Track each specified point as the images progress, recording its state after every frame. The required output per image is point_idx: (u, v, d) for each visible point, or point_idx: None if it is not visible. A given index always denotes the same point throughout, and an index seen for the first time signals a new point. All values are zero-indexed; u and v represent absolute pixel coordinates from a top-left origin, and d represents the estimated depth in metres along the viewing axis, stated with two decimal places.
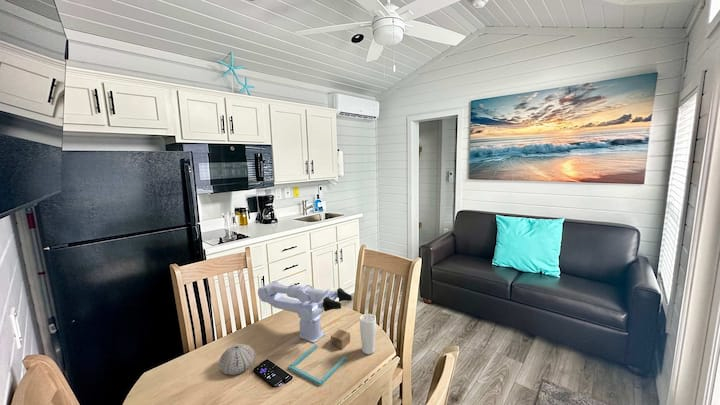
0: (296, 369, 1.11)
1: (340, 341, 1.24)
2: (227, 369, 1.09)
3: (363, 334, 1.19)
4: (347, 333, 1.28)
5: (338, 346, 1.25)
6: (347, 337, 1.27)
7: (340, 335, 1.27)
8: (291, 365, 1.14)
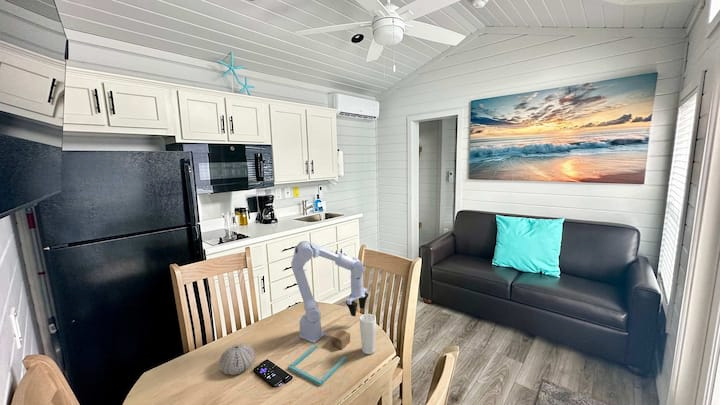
0: (296, 369, 1.11)
1: (340, 341, 1.24)
2: (227, 369, 1.09)
3: (363, 334, 1.19)
4: (347, 333, 1.28)
5: (338, 346, 1.25)
6: (347, 337, 1.27)
7: (340, 335, 1.27)
8: (291, 365, 1.14)
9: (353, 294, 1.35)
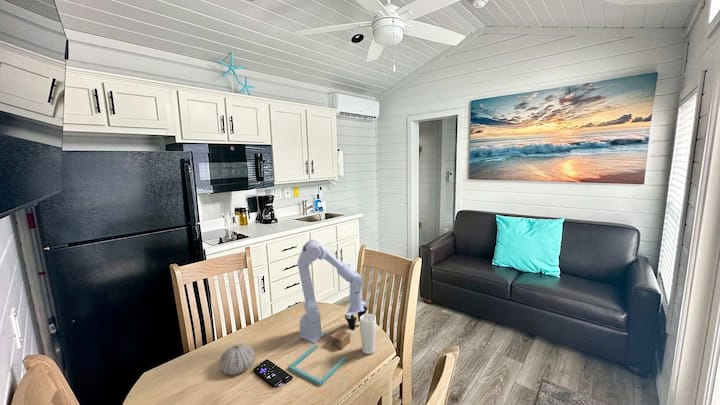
0: (296, 369, 1.11)
1: (340, 341, 1.24)
2: (227, 369, 1.09)
3: (363, 334, 1.19)
4: (347, 333, 1.28)
5: (338, 346, 1.25)
6: (347, 337, 1.27)
7: (340, 335, 1.27)
8: (291, 365, 1.14)
9: (352, 308, 1.35)
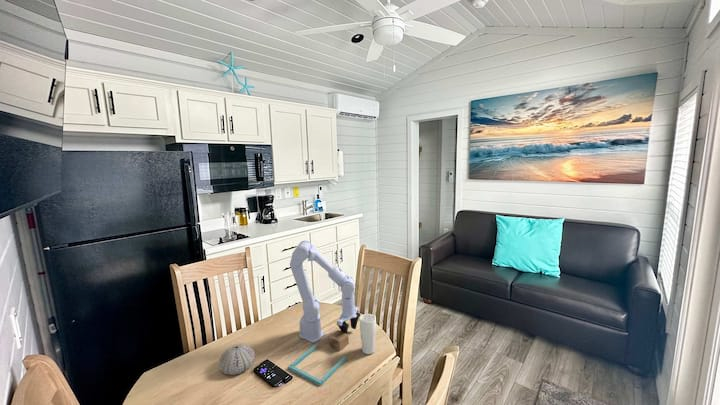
0: (296, 369, 1.11)
1: (338, 342, 1.23)
2: (227, 369, 1.09)
3: (363, 334, 1.19)
4: (345, 334, 1.27)
5: (336, 347, 1.24)
6: (345, 338, 1.26)
7: (338, 336, 1.26)
8: (291, 365, 1.14)
9: (344, 314, 1.30)
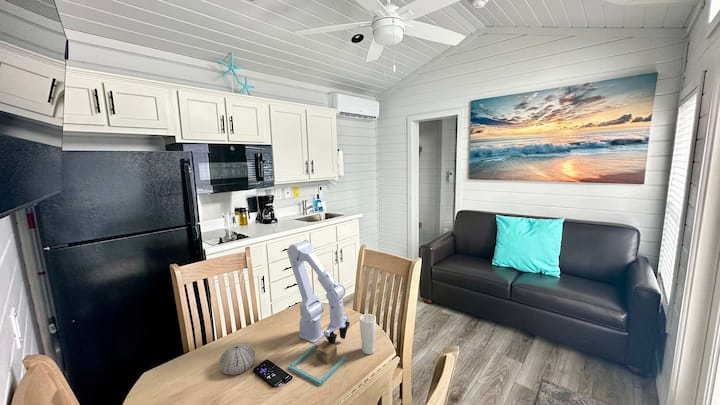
0: (296, 369, 1.11)
1: (325, 354, 1.16)
2: (227, 369, 1.09)
3: (363, 334, 1.19)
4: (333, 345, 1.20)
5: (323, 360, 1.17)
6: (333, 350, 1.19)
7: (326, 347, 1.19)
8: (291, 365, 1.14)
9: (332, 324, 1.23)
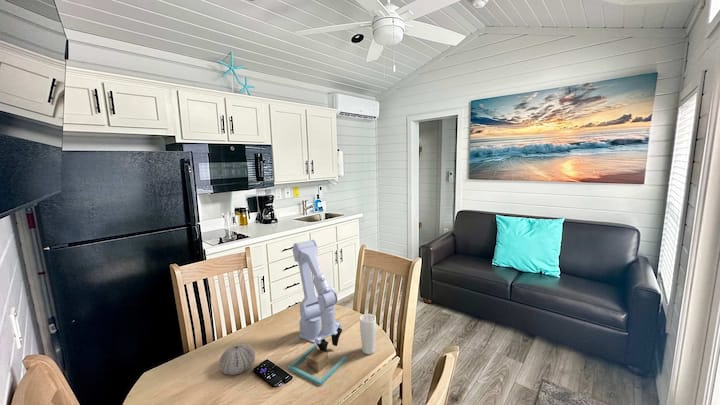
0: (296, 369, 1.11)
1: (316, 362, 1.11)
2: (227, 369, 1.09)
3: (363, 334, 1.19)
4: (325, 353, 1.15)
5: (314, 368, 1.12)
6: (324, 358, 1.14)
7: (317, 355, 1.14)
8: (291, 365, 1.14)
9: (323, 331, 1.18)
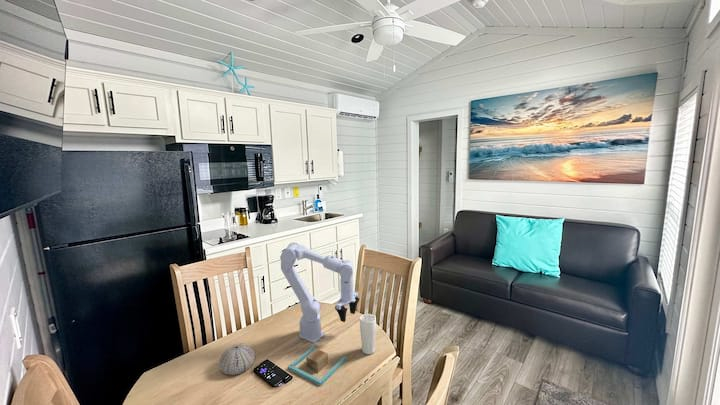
0: (296, 369, 1.11)
1: (316, 363, 1.11)
2: (227, 369, 1.09)
3: (363, 334, 1.19)
4: (325, 354, 1.15)
5: (314, 369, 1.12)
6: (324, 358, 1.14)
7: (317, 356, 1.14)
8: (291, 365, 1.14)
9: (343, 298, 1.28)
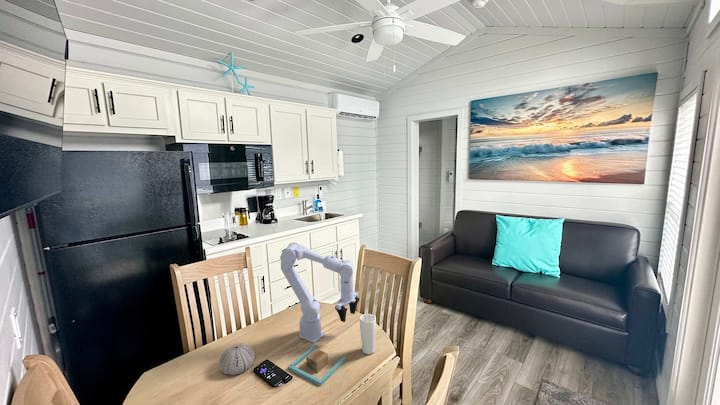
0: (296, 369, 1.11)
1: (315, 363, 1.11)
2: (227, 369, 1.09)
3: (363, 334, 1.19)
4: (325, 354, 1.15)
5: (313, 369, 1.12)
6: (324, 359, 1.14)
7: (317, 356, 1.14)
8: (291, 365, 1.14)
9: (343, 298, 1.28)
